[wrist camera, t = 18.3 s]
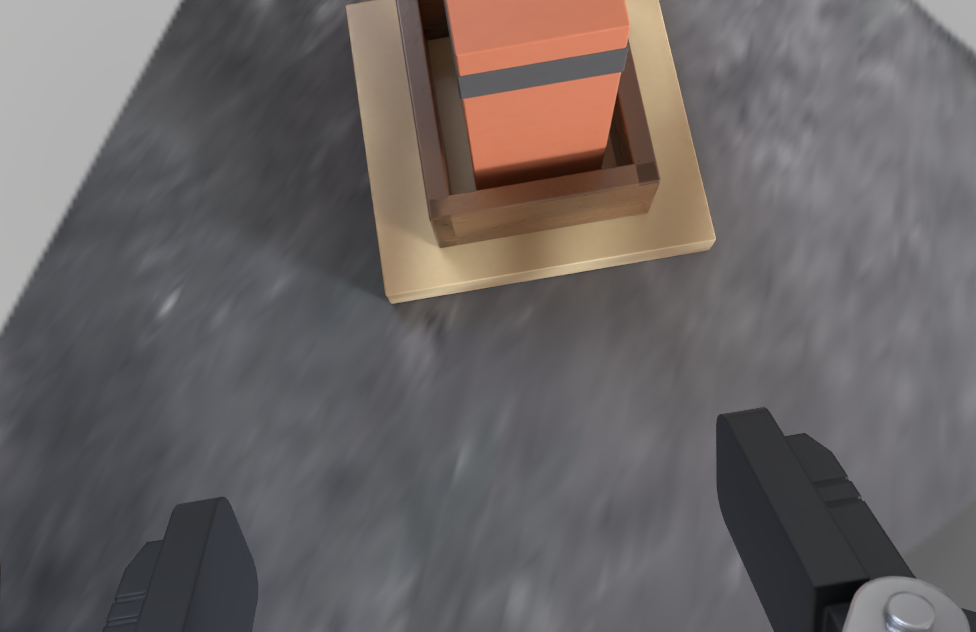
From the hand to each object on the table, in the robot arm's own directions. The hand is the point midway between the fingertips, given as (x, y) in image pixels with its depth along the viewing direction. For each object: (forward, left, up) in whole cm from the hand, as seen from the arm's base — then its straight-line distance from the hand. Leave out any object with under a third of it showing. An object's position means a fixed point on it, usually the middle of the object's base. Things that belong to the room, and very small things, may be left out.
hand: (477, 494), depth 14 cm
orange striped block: (+3, +14, -15) cm, 21 cm away
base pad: (+3, +14, -16) cm, 22 cm away
